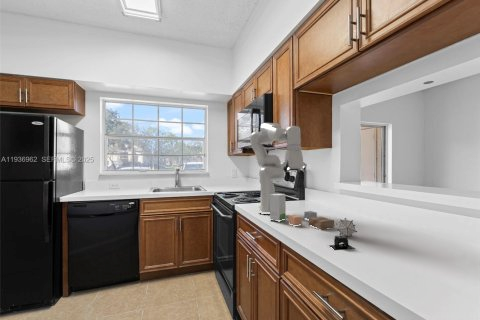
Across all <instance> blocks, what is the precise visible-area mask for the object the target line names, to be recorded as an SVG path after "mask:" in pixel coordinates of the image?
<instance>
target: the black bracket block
mask: <svg viewBox="0 0 480 320" xmlns="http://www.w3.org/2000/svg"><path fill="white" fill-rule="evenodd" d="M333 242H334V243H333V244H329V246H330V247H332V248H333V249H334V250H333V249H332V250H333V251H343V250H345V251H346V250H356V249H357V248H356V247H354V246H352V245H350V244H349V239H348V238H347V236H345V235H335V236H334V238H333ZM330 247H329V248H330Z"/></svg>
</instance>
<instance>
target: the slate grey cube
mask: <svg viewBox="0 0 480 320" xmlns="http://www.w3.org/2000/svg"><path fill="white" fill-rule="evenodd" d="M303 214H304V215H303V216H304V218H307V219H309V218H314V217H318V215H317V214H318V212H316V211H313V210H308V211H304V213H303ZM304 218H303V219H304Z"/></svg>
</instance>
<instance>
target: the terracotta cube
mask: <svg viewBox="0 0 480 320" xmlns="http://www.w3.org/2000/svg"><path fill="white" fill-rule="evenodd" d="M302 218H303V217H302V216H301V215H296V214H292V215H288V222H287V224H288V223H290V224H293V225H299V224H302V223H303V219H302Z"/></svg>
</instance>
